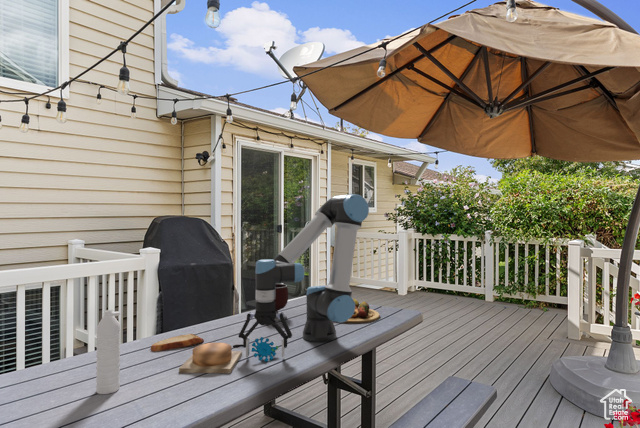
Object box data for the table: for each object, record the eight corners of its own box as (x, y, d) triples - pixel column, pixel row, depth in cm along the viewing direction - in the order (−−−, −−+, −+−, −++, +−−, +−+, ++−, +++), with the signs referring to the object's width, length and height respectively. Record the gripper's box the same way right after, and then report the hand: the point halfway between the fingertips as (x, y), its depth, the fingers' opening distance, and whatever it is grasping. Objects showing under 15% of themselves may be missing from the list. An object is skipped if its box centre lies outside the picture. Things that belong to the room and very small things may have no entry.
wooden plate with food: (311, 320, 209) (311, 305, 209) (333, 307, 238) (333, 293, 238) (370, 328, 197) (371, 312, 197) (385, 313, 226) (385, 299, 226)
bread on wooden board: (241, 355, 156) (241, 341, 156) (230, 373, 138) (230, 357, 138) (196, 354, 157) (196, 340, 157) (179, 372, 139) (179, 356, 139)
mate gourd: (269, 313, 224) (269, 277, 224) (292, 315, 219) (292, 279, 219) (256, 320, 209) (256, 282, 209) (280, 322, 204) (280, 283, 205)
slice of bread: (146, 351, 161) (146, 342, 161) (169, 338, 179) (169, 330, 179) (187, 354, 158) (187, 345, 158) (207, 340, 176) (207, 332, 176)
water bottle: (92, 391, 124) (92, 311, 124) (113, 384, 129) (113, 307, 129) (106, 398, 119) (106, 314, 119) (127, 390, 124) (128, 310, 124)
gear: (254, 360, 145) (250, 336, 152) (249, 368, 149) (245, 344, 155) (282, 359, 151) (276, 335, 158) (276, 367, 154) (271, 343, 161)
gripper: (230, 302, 149) (230, 359, 148) (297, 302, 148) (297, 359, 148) (235, 298, 156) (235, 352, 156) (298, 298, 156) (298, 352, 155)
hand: (265, 356), depth 152 cm, fingers open, 13 cm apart
